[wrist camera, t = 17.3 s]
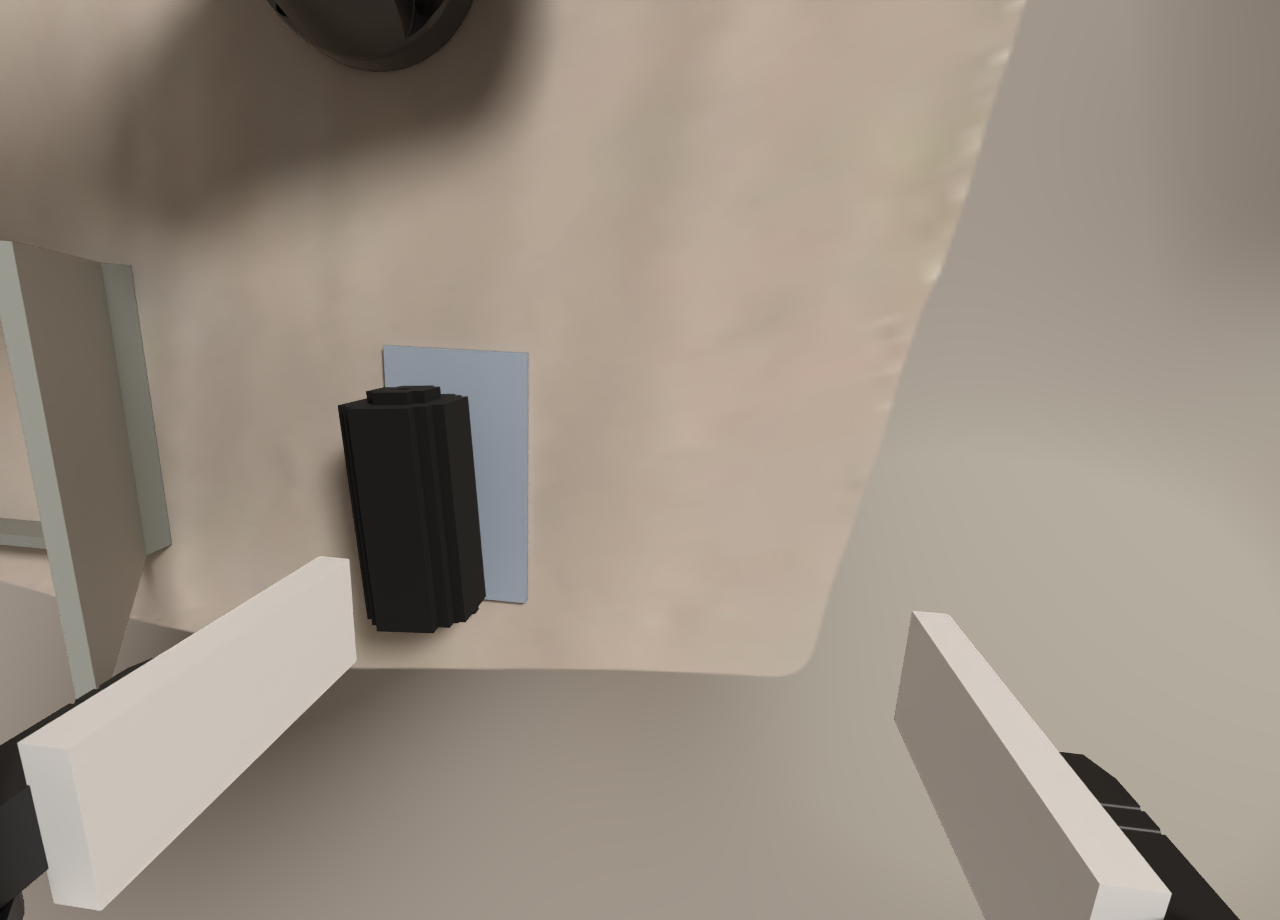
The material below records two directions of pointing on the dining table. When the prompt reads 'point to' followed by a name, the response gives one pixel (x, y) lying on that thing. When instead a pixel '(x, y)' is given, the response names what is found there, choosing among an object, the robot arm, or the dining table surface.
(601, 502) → the dining table surface
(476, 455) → the mat
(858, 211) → the dining table surface
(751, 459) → the dining table surface
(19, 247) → the case
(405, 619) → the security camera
